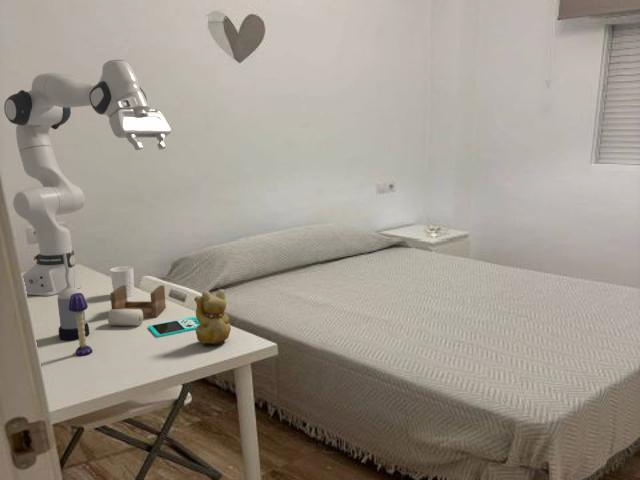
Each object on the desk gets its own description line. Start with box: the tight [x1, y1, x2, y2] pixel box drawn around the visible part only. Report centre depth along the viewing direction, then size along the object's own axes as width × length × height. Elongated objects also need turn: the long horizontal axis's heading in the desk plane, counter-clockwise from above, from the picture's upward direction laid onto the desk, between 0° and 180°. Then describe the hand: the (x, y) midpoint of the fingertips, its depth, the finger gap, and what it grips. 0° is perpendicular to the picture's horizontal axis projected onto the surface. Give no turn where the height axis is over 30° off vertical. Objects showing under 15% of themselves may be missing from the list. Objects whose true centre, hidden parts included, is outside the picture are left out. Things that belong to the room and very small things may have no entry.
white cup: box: [109, 265, 135, 298], centre depth 199 cm, size 8×8×10 cm
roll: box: [107, 308, 144, 327], centre depth 170 cm, size 10×5×5 cm, turn 87°
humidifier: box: [57, 252, 90, 342], centre depth 159 cm, size 8×8×25 cm
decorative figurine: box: [194, 288, 232, 348], centre depth 153 cm, size 10×8×15 cm
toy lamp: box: [69, 292, 93, 357], centre depth 147 cm, size 5×5×17 cm
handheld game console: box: [148, 316, 200, 338], centre depth 167 cm, size 10×16×1 cm, turn 122°
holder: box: [109, 285, 167, 319], centre depth 180 cm, size 14×9×8 cm, turn 87°
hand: (151, 148), depth 169 cm, fingers open, 8 cm apart
